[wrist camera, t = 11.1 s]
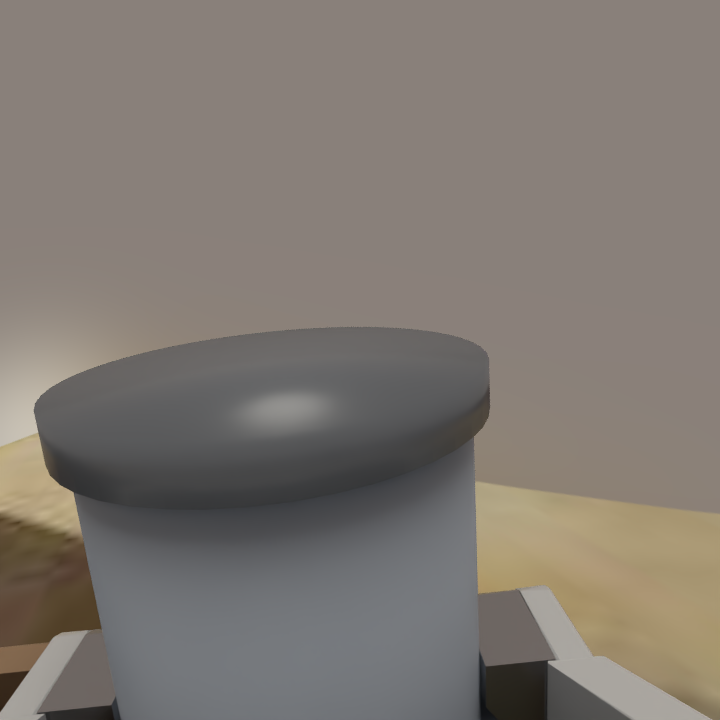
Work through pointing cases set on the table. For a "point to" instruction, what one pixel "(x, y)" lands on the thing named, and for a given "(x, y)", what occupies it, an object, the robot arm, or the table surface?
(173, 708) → the canister
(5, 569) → the table surface
